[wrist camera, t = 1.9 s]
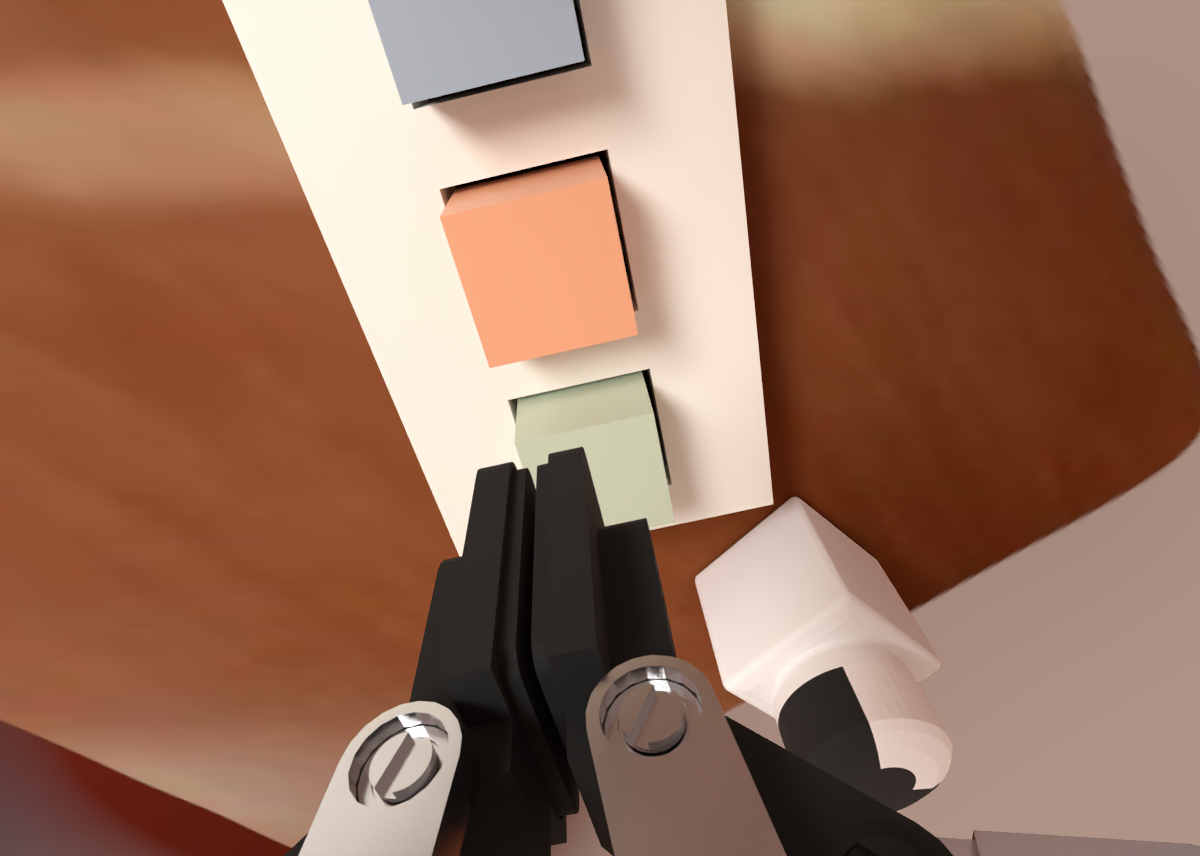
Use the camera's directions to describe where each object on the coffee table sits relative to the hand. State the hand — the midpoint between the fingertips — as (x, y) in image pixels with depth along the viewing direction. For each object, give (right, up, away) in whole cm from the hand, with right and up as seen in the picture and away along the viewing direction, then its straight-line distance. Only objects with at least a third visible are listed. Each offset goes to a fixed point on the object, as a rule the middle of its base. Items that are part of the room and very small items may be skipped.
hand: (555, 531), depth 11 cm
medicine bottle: (+10, -6, +25) cm, 28 cm away
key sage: (0, +2, +17) cm, 17 cm away
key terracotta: (-1, +8, +13) cm, 16 cm away
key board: (-1, +9, +15) cm, 18 cm away
